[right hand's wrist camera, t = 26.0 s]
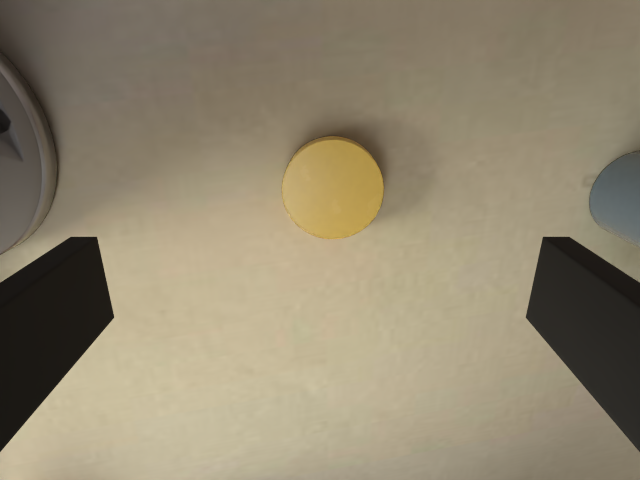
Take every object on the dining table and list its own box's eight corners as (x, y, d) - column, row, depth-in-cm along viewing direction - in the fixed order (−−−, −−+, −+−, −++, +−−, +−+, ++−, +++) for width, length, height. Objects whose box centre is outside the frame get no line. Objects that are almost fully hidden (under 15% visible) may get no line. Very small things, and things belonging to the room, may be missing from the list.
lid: (283, 227, 27) (280, 236, 25) (285, 132, 25) (283, 136, 23) (375, 233, 27) (377, 242, 25) (385, 139, 25) (389, 143, 23)
